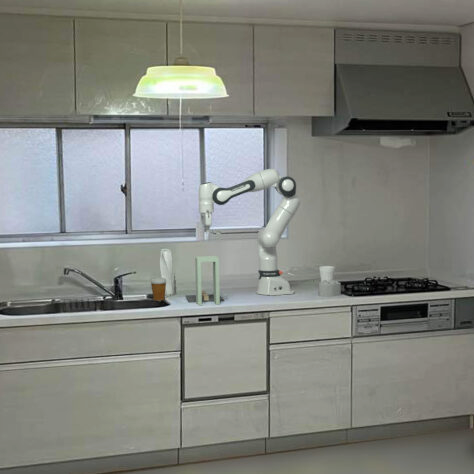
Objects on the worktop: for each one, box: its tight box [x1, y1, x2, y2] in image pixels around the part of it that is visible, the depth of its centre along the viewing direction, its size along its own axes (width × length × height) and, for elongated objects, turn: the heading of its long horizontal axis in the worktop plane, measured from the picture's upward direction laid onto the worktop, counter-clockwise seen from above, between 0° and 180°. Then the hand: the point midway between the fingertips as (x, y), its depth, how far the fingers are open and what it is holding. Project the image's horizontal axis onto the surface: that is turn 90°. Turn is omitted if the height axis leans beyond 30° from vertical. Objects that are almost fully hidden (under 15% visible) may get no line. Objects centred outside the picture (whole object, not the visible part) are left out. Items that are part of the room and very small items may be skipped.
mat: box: [185, 293, 225, 303], centre depth 420 cm, size 20×21×1 cm
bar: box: [201, 290, 209, 300], centre depth 420 cm, size 19×2×2 cm, turn 11°
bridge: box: [194, 255, 221, 306], centre depth 402 cm, size 12×10×26 cm
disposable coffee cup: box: [149, 277, 167, 301], centre depth 419 cm, size 10×10×12 cm
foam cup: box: [318, 265, 335, 283], centre depth 453 cm, size 10×9×13 cm
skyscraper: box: [159, 248, 178, 297], centre depth 435 cm, size 8×8×28 cm
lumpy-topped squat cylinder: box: [318, 279, 342, 298], centre depth 426 cm, size 10×13×9 cm
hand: (206, 232), depth 432 cm, fingers open, 8 cm apart
